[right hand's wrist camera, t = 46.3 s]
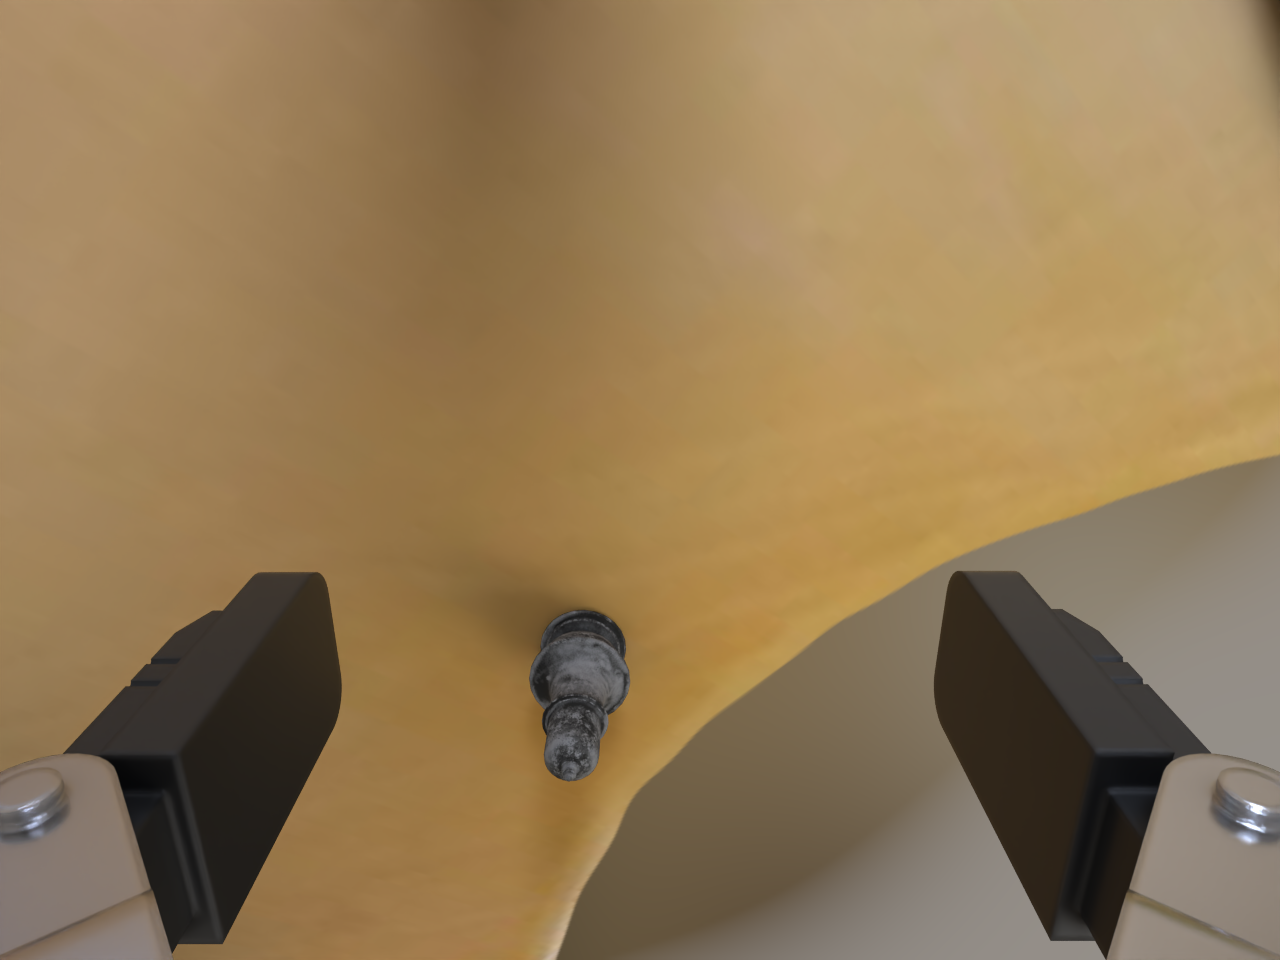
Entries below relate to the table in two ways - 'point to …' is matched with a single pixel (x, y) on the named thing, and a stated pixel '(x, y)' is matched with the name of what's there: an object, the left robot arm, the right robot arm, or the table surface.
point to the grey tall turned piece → (578, 688)
